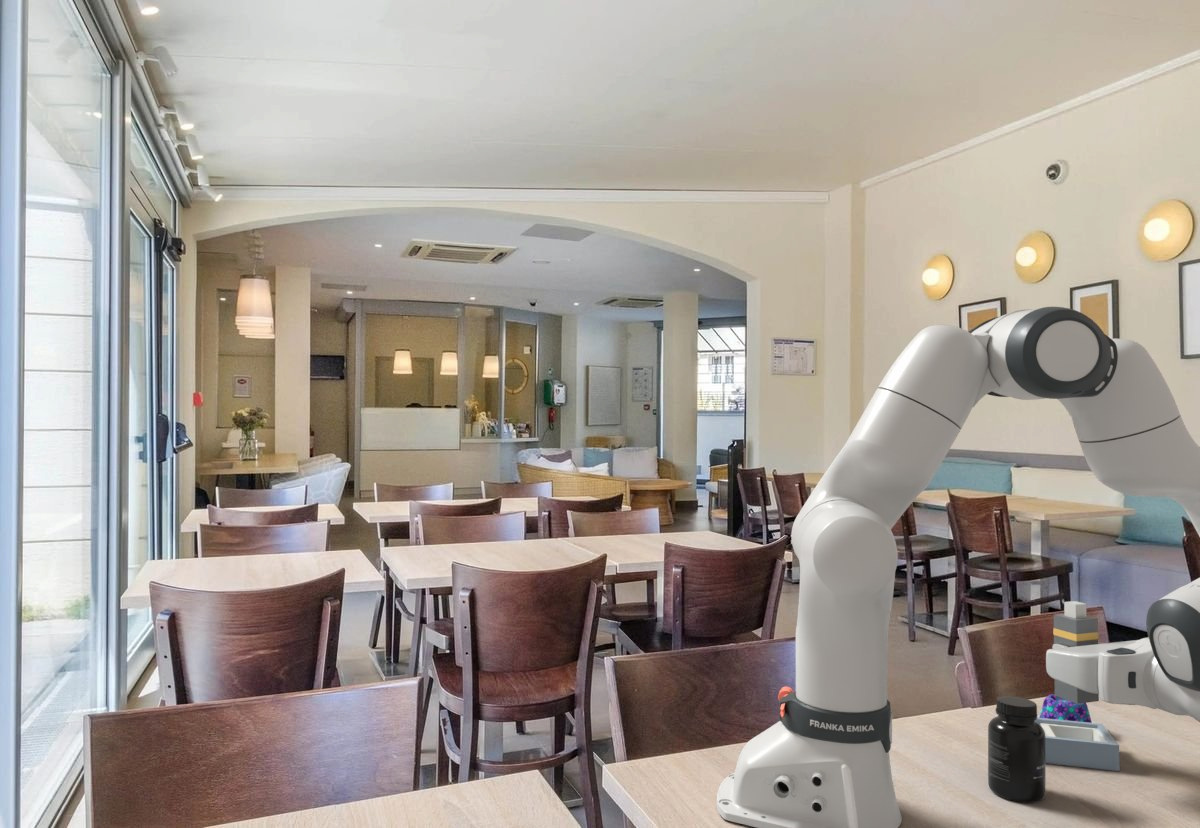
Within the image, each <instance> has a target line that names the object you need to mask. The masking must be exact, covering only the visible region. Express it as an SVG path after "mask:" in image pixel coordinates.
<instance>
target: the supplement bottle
mask: <svg viewBox="0 0 1200 828" xmlns="http://www.w3.org/2000/svg"><path fill="white" fill-rule="evenodd" d="M1037 706H1038V705H1037V703H1036V702H1035V701H1033V700H1031V699H1029V698H1025V697H1024V698H1023V697H1018V696H1010V695H1009V696H1008V695H1006V696H1005V695H1004V696H999V697H997V698H996V708H995V714H996V715H997V716H996V717H993V718H992V719H991V720H990V721H989V723H988V726H987V744H988V745H987V760H988V761H987V783H988V787H989V790H991V792H992V793H994V794H995V795H997V796H999V797H1001V798H1003V799H1006V800H1010V801H1013V802H1019V803H1037V802H1040V801H1042V800H1043V799H1044V798H1045V797H1046V783H1047V782H1046V781H1047V779H1046V772H1047V770H1046V764H1047V763H1046V752H1045V731H1044V729H1043V728H1042V727H1041V726H1040V725H1039V724H1038V723H1037V722H1035V720H1036V719H1037V715H1038V707H1037Z"/></svg>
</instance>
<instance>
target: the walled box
mask: <svg viewBox="0 0 1200 828" xmlns="http://www.w3.org/2000/svg"><path fill="white" fill-rule="evenodd" d="M1035 722H1037V723H1038V724H1039V725H1040V726H1041V727H1042V728H1043V729H1044V731H1045V752H1046V764H1050V765H1060V766H1068V767H1077V768H1087V769H1097V770H1106V771H1116V772H1120V744H1119V743H1118V742H1117V741H1116V739H1115V738H1114V737H1113V736H1112V735H1111V733H1110V731H1109V730H1108V729H1107V728H1106V727H1105V726H1104V725H1103V723H1100V722H1099V723H1097V722H1093V723H1088V722H1078V721H1068V720H1057V719H1047V718H1037V719H1036V720H1035ZM1106 729H1107V730H1108V731H1109V732H1108V731H1107V730H1106Z"/></svg>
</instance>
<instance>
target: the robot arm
mask: <svg viewBox="0 0 1200 828" xmlns="http://www.w3.org/2000/svg"><path fill="white" fill-rule="evenodd" d="M986 395H988V396H993V397H1000V398H1004V397H1005V398H1013V399H1015V400H1016V399H1017V400H1025V401H1030V400H1031V401H1034V400H1035V401H1036V400H1044V399H1052V400H1053V399H1054V400H1055V399H1056V400H1058V401H1059V402H1060V403H1061V404H1062V405H1063V407H1064V408H1065V409H1066V411H1067V412H1068V415H1069V416H1070V417H1071V421H1072V424H1073V428H1074V430H1075V434H1076V436H1077V439H1078V442H1079V445H1080V447H1081V450H1082V454H1083V456H1084V458H1085V461H1086V463H1087V465H1088V468H1089V469H1090V471H1091V472H1092V473H1093V475H1094V476H1095V478H1096V479H1097V480H1098V481H1099V482H1100V483H1102V484H1103V485H1104V486H1106V487H1108V488H1110V489H1112V490H1113V491H1114V492H1118V493H1120V494H1123V495H1127V496H1133V497H1142V498H1168V499H1170V500H1171V499H1172V500H1174V501H1175V502H1177V503H1178V505H1180V506H1181V507H1182V508H1183V509H1184V512H1186V514H1187V516H1188V518H1189V519H1190V521H1191V523H1192V525H1193V528H1194V530H1195V532H1196V533H1197V535H1198V536H1199V538H1200V446H1199V445H1198V444H1197V442H1196V441H1195V440H1194V439H1193V438H1192V436H1191V434H1190V433H1189V430H1188V428H1186V425H1185V423H1184V421H1183V418H1182V415H1181V413H1180V411H1179V410H1180V409H1179V408H1178V405H1177V402H1176V401H1175V398H1174V396H1173V394H1172V391H1171V389H1170V387H1169V385H1168V383H1167V381H1166V380H1165V378H1164V376H1163V374H1162V372H1161V371H1160V369H1159V367H1158V366H1157V364H1156V362H1155V360H1154V359H1153V358H1152V356H1151V355H1150V353H1149V352H1148V350H1147V349H1146V347H1144V346H1143V345H1142V344H1140V343H1139V342H1137V341H1135V340H1131V339H1127V338H1115V337H1114V338H1110V337H1109V336H1108V335H1107V334H1105V333H1104V331H1103V330H1102V328H1101V327H1100V326H1099V325H1098V324H1097V323H1096V322H1095V321H1094V320H1093V319H1092V318H1090V317H1089V316H1087V315H1086V314H1085V313H1082V312H1080V311H1078V310H1075V309H1072V308H1068V307H1063V306H1045V307H1041V308H1035V309H1028V308H1027V309H1020V310H1016V311H1011V312H1009V313H1006V314H1003V315H1001V316H997V317H992V318H989V319H987V320H986V321H983V322H981V323H980V324H978V325H976V326H975V327H973V328H972V329H970V330H968V331H967V330H966V329H964V328H962V327H958V326H954V325H950V324H949V325H948V324H934V325H929V326H927V327H925V328H923V329H921V330H919V332H918V333H916V335H914V337H913V338H912V340H911V341H909V343H908V344H907V345H906V346H905V348H904V349H903V350H902V352H900V354H899V356H898V357H897V358H896V359H895V361H894V362H893V363H892V364H891V366H890V368H889V369H888V371H887V372H886V374H885V375H884V377H883V378H882V380H881V381H880V382H879V385H878V387H877V388H876V390H875V392H874V394H873V395H872V397H871V399H870V401H869V402H868V404H867V405H866V407H865V409H864V411H863V413H862V414H861V416H860V418H859V419H858V421H857V423H856V425H855V427H854V428H853V429H852V432H851V433H850V435H849V437H848V439H847V440H846V442H845V444H844V445H843V447H842V448H841V450H840V451H839V452H838V454H837V455H836V457H835V458H834V459H833V460H832V462H831V464H830V465H829V466H828V468H827V469H826V470H825V472H824V474H822V477H821V478H820V480H819V481H818V483H817V484H816V486H815V487H814V489H813V490H812V492H811V493H810V495H809V496H808V498H807V500H806V501H805V502H804V505H802V507H801V509H800V510H799V512H798V514H797V516H796V517H795V519H794V522H793V524H792V527H791V535H790V537H791V539H790V540H791V545H792V548H793V551H794V554H795V555H796V557H797V559H798V561H799V562H798V563H799V589H798V590H799V592H798V606H797V617H796V618H797V620H796V628H795V690H793V688H791V687H790V686H783V687H781V689H779V692H778V697H777V699H778V701H779V705H778V717H779V718H778V719H779V721H777V722H776V723H774V724H773V725H770V727H768V728H766V729H765V730H763V731H762V732H761V733H759V734H757V735H756V736H754V737H752V738H751V739H750V740H748V742H747V743H746V744H745V745H744V746H743V747H742V748H741V749H742V750H741V751H740V753H739V755H738V758H737V762H736V766H735V770H734V772H732V773H730V774H728V775H727V776H726V777H725V778H724V779H723V780H722V782H721V783H720V785H719V788H718V789H717V794H716V802H715V804H716V809H717V813H718V814H719V815H720V816H721V818H723V820H726V821H729V822H732V823H736V824H742V825H745V826H749V827H754V828H899V827H900V825H901V824H902V820H903V819H902V813H901V810H900V807H899V804H898V801H897V796H896V792H895V788H894V781H893V774H892V768H891V759H890V757H891V756H890V750H891V747H892V743H893V712H892V707H891V702H890V701H889V700H888V638H889V637H888V635H889V626H890V618H891V613H892V606H893V598H894V590H895V589H894V588H895V579H896V578H895V577H896V570H897V567H898V561H899V560H898V557H899V556H898V546H897V542H896V539H895V536H894V533H893V531H892V529H893V528H894V526H895V525H896V524H897V522H898V521H899V519H900V518H901V517H902V515H904V514H905V512H906V511H907V509H908V508H910V506H911V505H912V503H913V502H914V501H915V500H916V499H917V498H918V496H919V495H921V493H922V492H924V490H926V489H927V487H929V485H930V484H931V482H932V480H933V479H934V477H935V474H937V472H938V470H939V468H940V467H941V465H942V464H943V461H944V459H945V458H946V456H947V454H948V453H949V451H950V449H951V447H952V446H953V445H954V443H955V441H956V439H957V437H958V435H959V433H960V432H961V430H962V429H963V426H964V425H965V423H966V421H967V419H968V417H969V415H970V414H971V411H972V410H973V408H975V406H976V405H977V404H978V403H979V401H980V400H981V399H982V398H984V397H985V396H986ZM1145 624H1146V632H1147V637H1143V638H1140V639H1136V640H1126V641H1123V640H1122V641H1114V642H1099V641H1098V644H1095V645H1085V646H1075V647H1070V645H1066V644H1063V643H1061V644H1054V643H1053V644H1052V648H1049V649H1046V653H1045V668H1046V673H1047V674H1048V676H1049V677H1050V678H1052V679H1054V681H1055V680H1058V681H1060V682H1062V683H1065V684H1067V685H1070V686H1072V687H1075V688H1077V689H1080V690H1083V691H1086V692H1090V693H1095V694H1099V700H1101V702H1105V703H1109V704H1112V705H1130V706H1141V707H1147V708H1150V709H1154V710H1157V709H1158V710H1161V711H1163V712H1166V713H1170V714H1172V715H1177V716H1188V717H1191V718H1193V719H1194V720H1196V721H1197V722H1199V723H1200V577H1198V578H1196V579H1194V580H1192V581H1191V582H1189V583H1187V584H1185V585H1183V586H1179V588H1176V589H1175V590H1172V591H1171V592H1169V593H1168V594H1166V595H1164V596H1163V597H1160V599H1158V600H1156V601H1155V602H1153V603H1152V604H1151V605H1150V607H1149V608H1148V610H1147V614H1146V619H1145Z"/></svg>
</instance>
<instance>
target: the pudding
mask: <svg viewBox="0 0 1200 828" xmlns="http://www.w3.org/2000/svg"><path fill="white" fill-rule="evenodd" d="M1037 718H1047V719H1057V720H1068V721H1078V722H1088V723H1094V722H1093V721H1092V719H1091V715H1090V710H1089V707H1088V703H1081V704H1076V703H1074V702H1071V701H1068V700H1065V699H1063V698H1060V697H1057V696H1055V693H1054V694H1053V693H1051V694H1049V695H1048V696H1046V697H1045V698H1044V700H1043V702H1042V706H1041V711H1040V714H1037ZM1106 730H1107V731H1108V732H1109V733H1110V731H1109V730H1108V729H1107V728H1106Z"/></svg>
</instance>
